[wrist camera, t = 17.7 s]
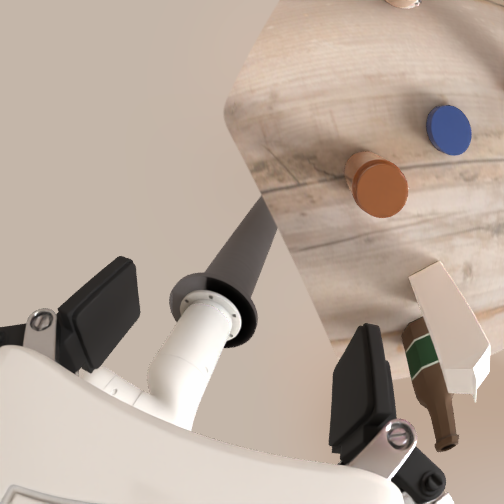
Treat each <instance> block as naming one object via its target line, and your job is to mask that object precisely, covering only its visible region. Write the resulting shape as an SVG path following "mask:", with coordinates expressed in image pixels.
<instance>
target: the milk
mask: <svg viewBox="0 0 504 504" xmlns="http://www.w3.org/2000/svg"><path fill="white" fill-rule="evenodd" d="M409 280H410V283H411V286H412V289H413V291H414V294H415V297H416V300H417V303H418V305H419V308H420V310H421V313H422V315H423V318H424V320H425V323H426V325H427V328H428V331H429V333H430V336H431V339H432V342H433V345H434V347H435V350H436V353H437V356H438V359H439V363H440V366H441V369H442V372H443V376H444V379H445V383H446V386H447V390H448V393H458V394H460V393H461V394H472V395H473V398H474V401H475V402H476V394H477V388H478V387H479V385H480V384H481V383H482V381H483V380H484V378H485V377H486V376H487V374H488V373H489V363H490V343H489V341H488V339H487V337H486V335H485V333H484V332H483V330H482V328H481V326H480V324H479V322H478V321H477V319H476V317H475V315H474V313H473V312H472V310H471V308H470V307H469V305H468V303H467V302H466V300H465V298H464V297H463V295H462V293H461V292H460V290H459V289H458V287H457V286H456V284H455V283H454V281H453V279H452V278H451V276H450V275H449V274H448V272H447V271H446V269H445V268H444V266H443V265H442V263H441V262H440V261H438V262H436V263H434V264H432V265H430V266H428V267H427V268H425V269H423V270H421V271H419V272H417V273H415V274H413V275H411V276H409Z"/></svg>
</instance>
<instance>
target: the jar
mask: <svg viewBox="0 0 504 504" xmlns="http://www.w3.org/2000/svg"><path fill="white" fill-rule="evenodd" d="M344 177H345V180H346V183H347V185H348V187H349V189H350V191H351V193H352V195H353V197H354V199H355V202H356V203H357V205H358V206H359V207H360V208H361V209H362V210H364V211H365V212H367V213H368V214H370V215H372V216H374V217H378V218H387V217H391V216H393V215H395V214H396V213H398V212H399V211H400V210H401V209H402V208H403V206H404V205H405V203H406V200H407V197H408V184H407V180H406V178H405V176H404V174H403V173H402V172H401V171H400V169H399V168H398V167H397V166H396V165H395V164H393V163H391V162H390V161H388V160H386V159H384V158H382V157H381V156H379V155H377V154H375V153H373V152H369V151H361V152H357V153H355V154H354V155H352V156H351V157H350V158H349V159H348V161H347V162H346V165H345V168H344Z"/></svg>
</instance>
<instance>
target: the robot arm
mask: <svg viewBox="0 0 504 504" xmlns="http://www.w3.org/2000/svg"><path fill="white" fill-rule="evenodd" d="M58 311H59V312H58V313H57V314H55V312H54V311H53V310H50V309H46V308H43V309H39V310H36V311H35V312H33V313H32V314H31V315H30V316H29V318H28V320H27V323H26V324H20V325H14V326H7V327H0V504H454V502H453V500H452V498H451V496H450V494H449V493H448V492H447V493H445V492H444V489H445V485H446V478H445V475H444V473H443V472H442V471H441V469H439V468H438V467H437V466H436V465H435V464H434V463H433V462H432V461H431V460H430V459H429V458H427V457H426V455H424V454H423V453H422V452H421V451H420V450H419V449H418V448H417V447H416V446H415V445H416V443H417V433H416V430H415V428H414V427H413V425H412V424H410V422H408V421H406V420H404V419H397V418H396V408H395V399H394V391H393V384H392V377H391V370H390V365H389V362H388V361H386V360H385V355H384V349H383V343H382V338H381V332H380V328H379V326H377V325H372V324H368V323H365V324H364V325H363V326H359V327H358V328H357V330H356V332H355V334H354V336H353V338H352V339H351V341H350V343H349V345H348V347H347V348H346V350H345V352H344V354H343V355H342V357H341V359H340V360H339V362H338V364H337V365H336V367H335V369H334V372H333V385H332V406H331V421H330V433H329V445H330V446H332V453H339V454H340V460H341V461H340V463H338V464H337V465H336V464H329V463H323V462H316V461H309V460H302V459H296V458H290V457H285V456H280V455H275V454H270V453H266V452H261V451H257V450H252V449H248V448H245V447H241V446H237V445H233V444H230V443H226V442H223V441H220V440H216V439H213V438H210V437H207V436H204V435H201V434H198V433H195V432H192V431H191V428H192V425H193V421H194V417H195V414H196V411H197V408H198V405H199V403H200V400H201V398H202V395H203V393H204V391H205V389H206V386H207V384H208V382H209V379H210V377H211V375H212V373H213V370H214V368H215V366H216V363H217V361H218V359H219V357H220V354H221V352H222V350H223V347H224V345H225V343H226V341H228V340H230V339H232V338H234V337H235V336H236V335H237V334H238V332H239V330H240V328H241V323H242V322H241V316H240V313H239V311H238V309H237V308H236V306H235V305H234V304H233V303H232V302H231V301H230V300H229V299H227V298H226V297H224V296H223V295H221V294H219V293H217V292H214V291H210V290H195V291H192V292H190V293H189V294H187V295H186V296H185V298H184V299H183V300H182V302H181V305H180V313H181V318H180V319H179V321H178V322H177V324H176V325H175V327H174V328H173V330H172V331H171V333H170V335H169V336H168V337H167V339H166V340H165V342H164V343H163V345H162V346H161V348H160V349H159V351H158V353H157V354H156V356H155V357H154V359H153V361H152V362H151V364H150V366H149V369H148V373H147V381H148V388H149V392H150V394H148V393H147V392H145V391H142V390H141V389H139V388H137V387H136V386H134V385H133V384H131V383H129V382H128V381H126V380H125V379H123V378H122V377H120V376H119V375H117V374H116V373H114V372H113V371H111V370H110V369H108V368H106V367H104V366H101V365H102V363H103V362H104V361H105V359H106V358H107V357H108V356H109V354H110V353H111V352H112V351H113V349H114V348H115V347H116V345H117V344H118V343H119V342H120V340H121V339H122V338H123V337H124V335H125V334H126V333H127V332H128V330H129V329H130V328H131V326H133V324H134V323H135V322H136V321H137V319H138V318H139V316H140V305H139V296H138V287H137V276H136V266H135V264H133V261H132V260H131V259H128V258H125V257H122V256H119V257H117V258H116V259H115V260H114V261H113V262H111V263H110V264H109V265H107V266H106V267H105V268H104V269H103V270H101V271H100V272H99V273H98V274H97V275H96V276H94V277H93V278H92V279H91V280H90V281H88V282H87V283H86V284H85V285H84V286H83V287H81V288H80V289H79V290H78V291H77V292H76V293H75V294H74V295H72V296H71V297H70V298H69V299H68V300H67V301H66V302H65V303H63V304H62V305H61V306H60V307H59V308H58ZM81 367H82V369H84V370H85V372H84V373H83V374H82V375H81V377H79V369H80V368H81Z"/></svg>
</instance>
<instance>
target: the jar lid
mask: <svg viewBox="0 0 504 504" xmlns="http://www.w3.org/2000/svg"><path fill="white" fill-rule="evenodd" d="M428 115H429V116H428V118H427V123H426V127H427V134H428V137H429V140H430V141H431V143H432V144H433V145H434V147H435V148H437V150H439V151H441V152H443V153H446V154H448V155H460V154H462V153H463V152H465V151H466V150H467V148H468V147H469V145H470V142H471V127H470V124H469V121H468V119H467V117H466V116H465V115H464V113H463V112H462V111H461V110H459V109H458V108H456V107H454V106H450V105H446V106H438V107H436V108H434V109H433V110H432V111H431V112H430V114H428Z"/></svg>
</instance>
